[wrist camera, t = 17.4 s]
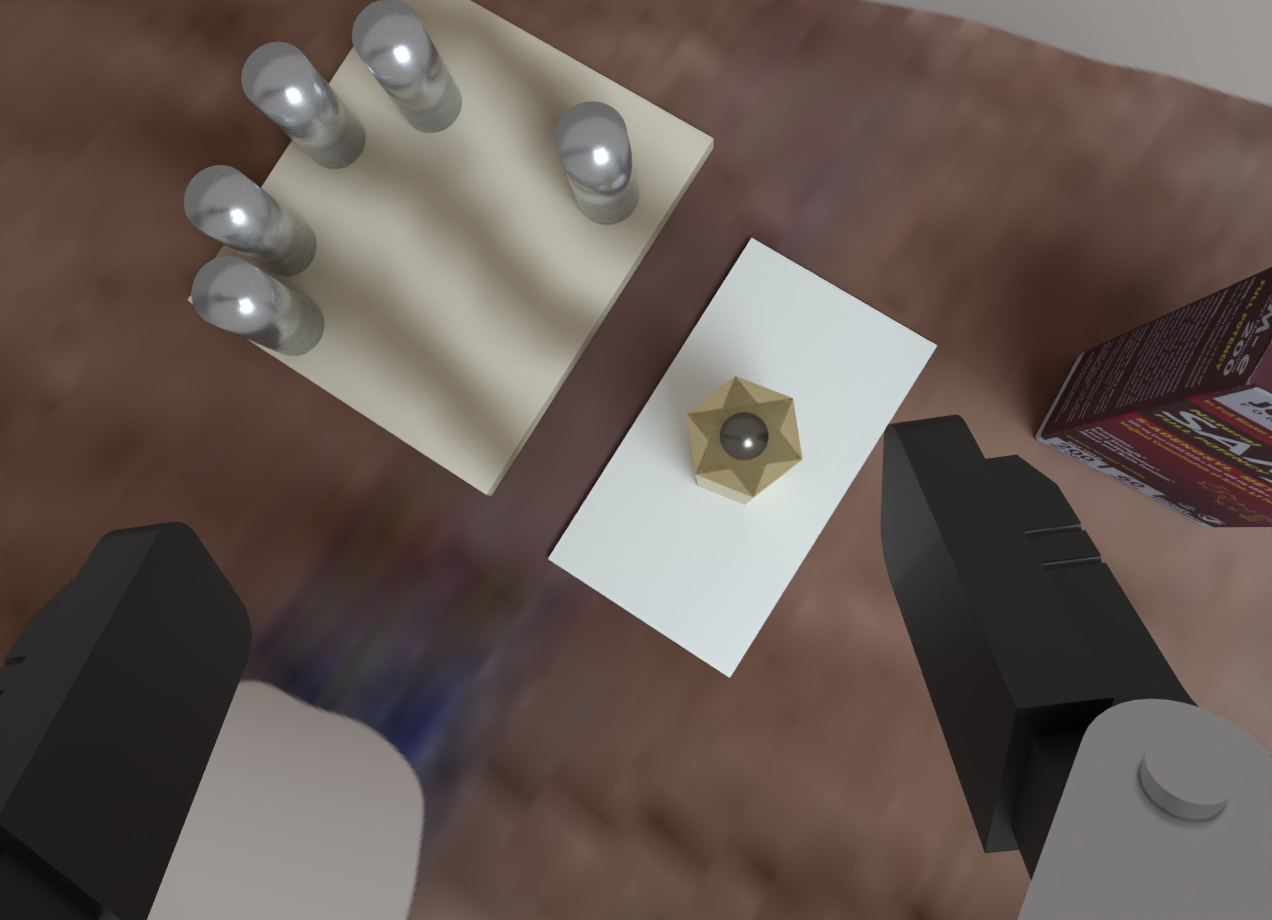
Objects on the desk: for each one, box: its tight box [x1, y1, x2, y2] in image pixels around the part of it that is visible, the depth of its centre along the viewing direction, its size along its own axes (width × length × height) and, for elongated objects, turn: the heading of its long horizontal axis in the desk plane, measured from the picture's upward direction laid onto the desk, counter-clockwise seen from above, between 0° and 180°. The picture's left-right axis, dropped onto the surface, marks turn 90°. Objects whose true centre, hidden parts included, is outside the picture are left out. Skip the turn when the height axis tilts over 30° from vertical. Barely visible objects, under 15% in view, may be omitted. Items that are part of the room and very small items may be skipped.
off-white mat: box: [548, 238, 937, 678], centre depth 40 cm, size 18×10×1 cm, turn 148°
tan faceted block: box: [687, 376, 802, 505], centre depth 36 cm, size 5×4×8 cm
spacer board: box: [188, 0, 714, 496], centre depth 42 cm, size 20×18×1 cm
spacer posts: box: [184, 0, 639, 356], centre depth 39 cm, size 16×16×6 cm
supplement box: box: [1035, 267, 1272, 527], centre depth 31 cm, size 9×5×16 cm, turn 61°
